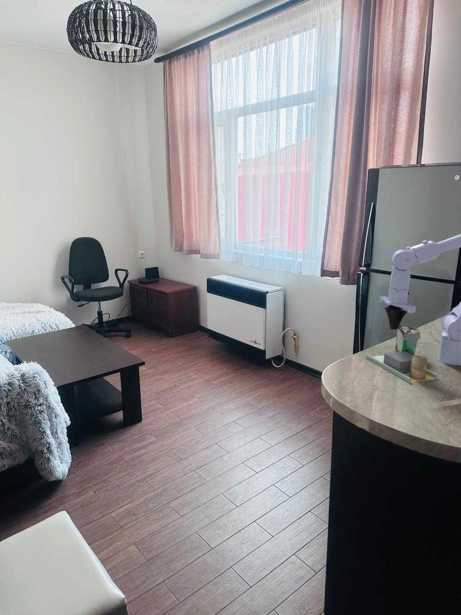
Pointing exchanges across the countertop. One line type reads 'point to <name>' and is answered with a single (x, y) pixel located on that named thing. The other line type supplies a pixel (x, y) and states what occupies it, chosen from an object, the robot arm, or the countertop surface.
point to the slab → (399, 361)
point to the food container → (407, 338)
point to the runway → (406, 377)
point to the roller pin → (418, 367)
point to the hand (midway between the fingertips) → (393, 328)
